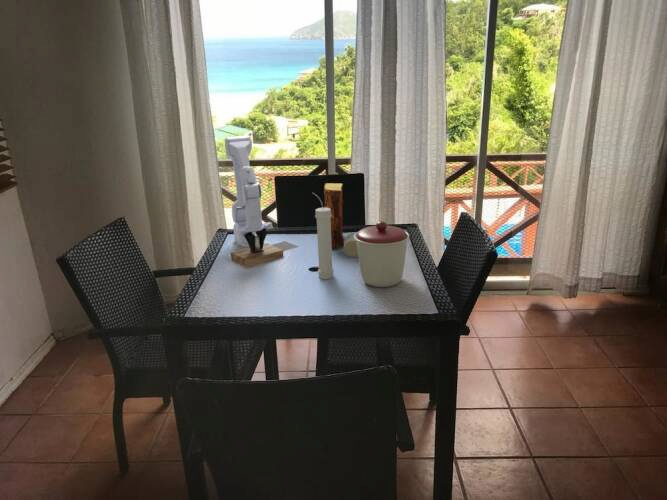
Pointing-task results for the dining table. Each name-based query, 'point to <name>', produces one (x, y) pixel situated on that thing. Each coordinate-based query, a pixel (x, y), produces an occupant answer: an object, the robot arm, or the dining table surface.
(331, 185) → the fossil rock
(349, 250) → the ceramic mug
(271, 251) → the block
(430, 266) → the dining table surface
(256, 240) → the peg
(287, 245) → the mat
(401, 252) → the canister
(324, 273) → the white tall cylinder
